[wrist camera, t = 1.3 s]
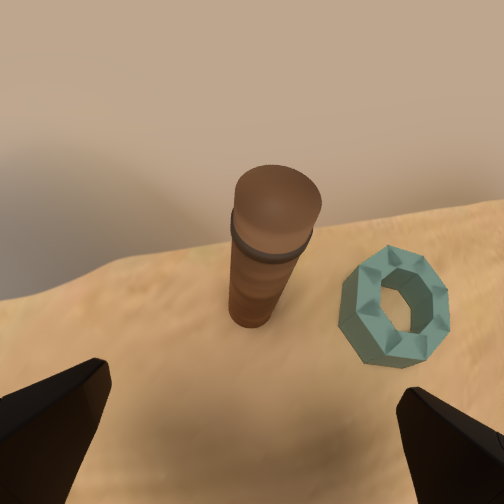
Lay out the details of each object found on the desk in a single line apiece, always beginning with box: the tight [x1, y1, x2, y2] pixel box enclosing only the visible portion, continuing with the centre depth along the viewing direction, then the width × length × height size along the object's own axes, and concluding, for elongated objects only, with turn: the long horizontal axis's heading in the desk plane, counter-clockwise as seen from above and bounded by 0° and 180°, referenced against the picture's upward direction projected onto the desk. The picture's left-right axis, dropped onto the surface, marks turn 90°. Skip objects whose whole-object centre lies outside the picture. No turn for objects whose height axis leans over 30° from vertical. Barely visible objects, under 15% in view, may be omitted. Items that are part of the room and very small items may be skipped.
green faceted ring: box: [338, 245, 450, 369], centre depth 21 cm, size 10×10×4 cm
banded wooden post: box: [229, 165, 322, 328], centre depth 16 cm, size 4×4×13 cm
